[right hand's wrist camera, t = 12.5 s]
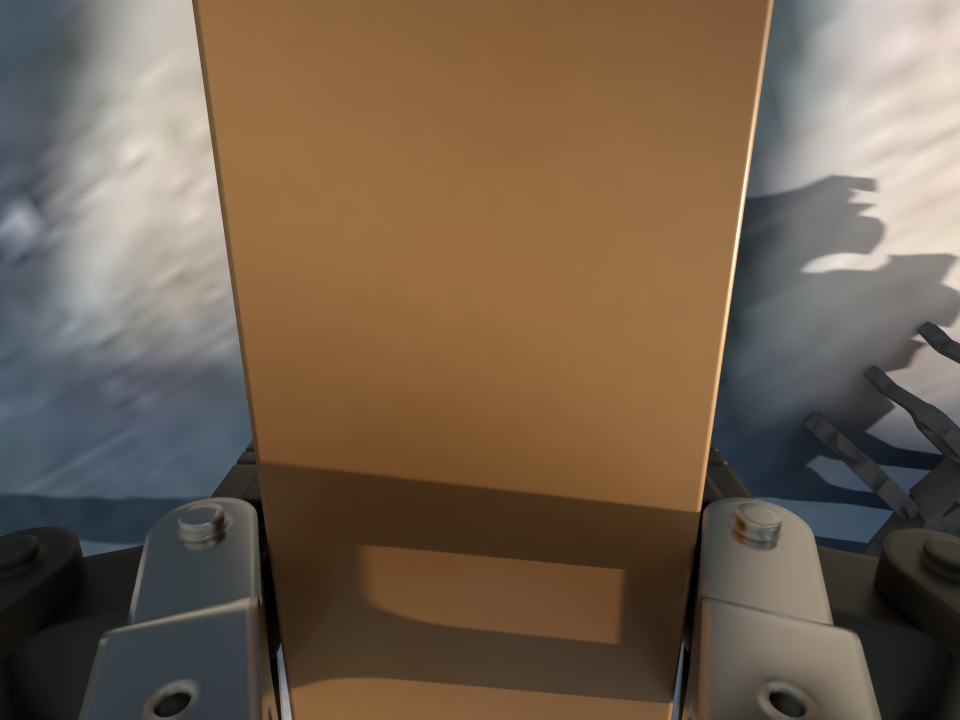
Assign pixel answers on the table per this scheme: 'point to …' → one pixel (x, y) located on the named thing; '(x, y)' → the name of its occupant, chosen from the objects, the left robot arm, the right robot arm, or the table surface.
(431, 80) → the beam
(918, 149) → the table surface
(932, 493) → the toy
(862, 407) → the table surface
